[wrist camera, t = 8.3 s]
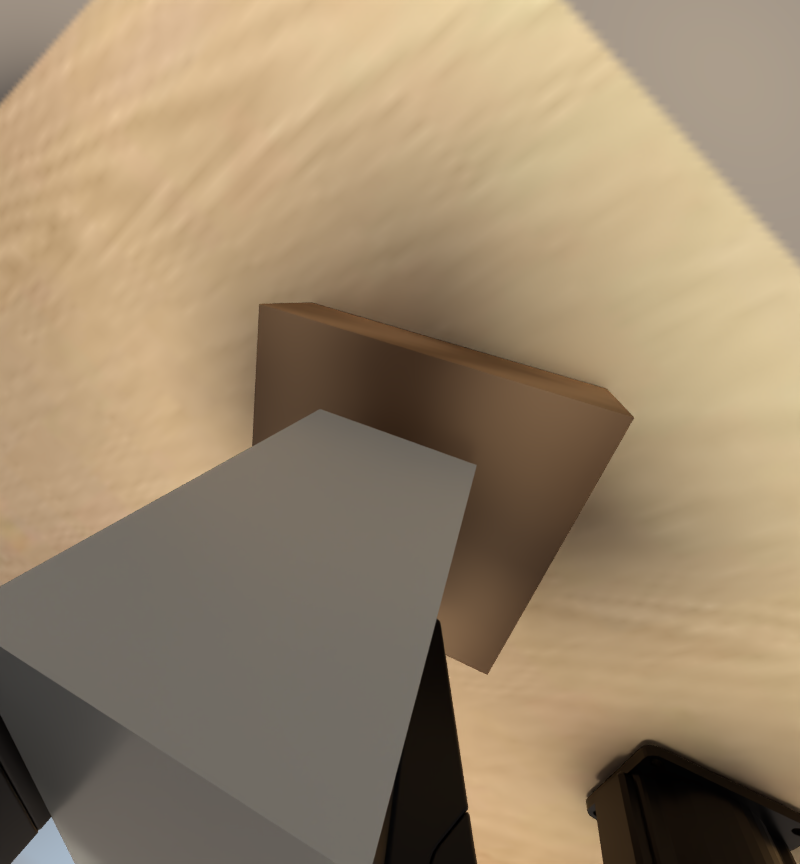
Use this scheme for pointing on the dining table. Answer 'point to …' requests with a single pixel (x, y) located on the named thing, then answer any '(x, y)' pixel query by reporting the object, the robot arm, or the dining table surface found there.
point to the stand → (453, 445)
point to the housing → (237, 653)
